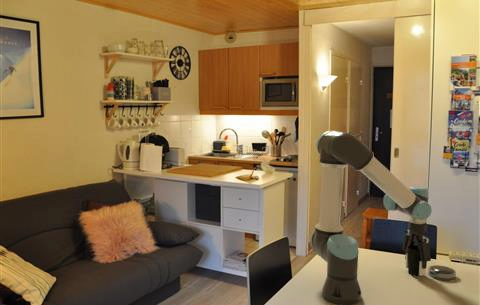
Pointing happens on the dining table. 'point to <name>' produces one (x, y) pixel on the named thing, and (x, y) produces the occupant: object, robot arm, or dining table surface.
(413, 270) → the cup
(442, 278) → the grey metal bowl
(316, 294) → the dining table surface
